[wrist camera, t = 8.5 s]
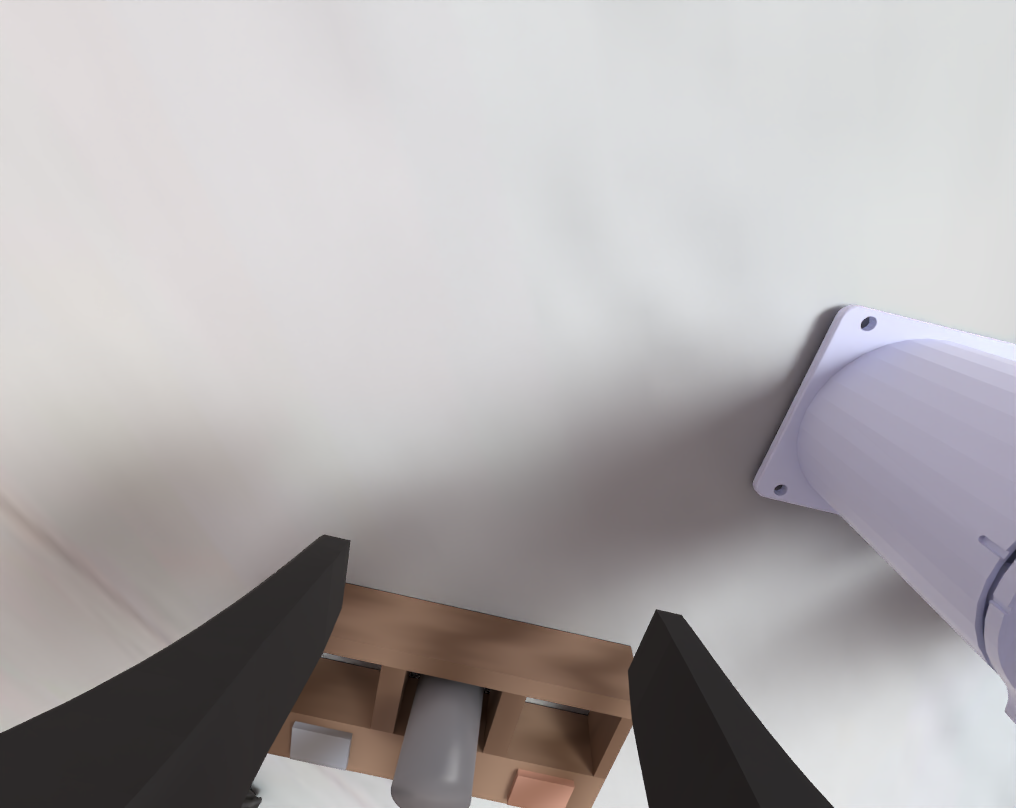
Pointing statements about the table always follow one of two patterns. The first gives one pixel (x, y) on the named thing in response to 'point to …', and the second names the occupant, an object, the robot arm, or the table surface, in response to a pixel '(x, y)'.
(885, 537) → the robot arm
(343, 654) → the socket block
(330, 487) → the table surface
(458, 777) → the peg
